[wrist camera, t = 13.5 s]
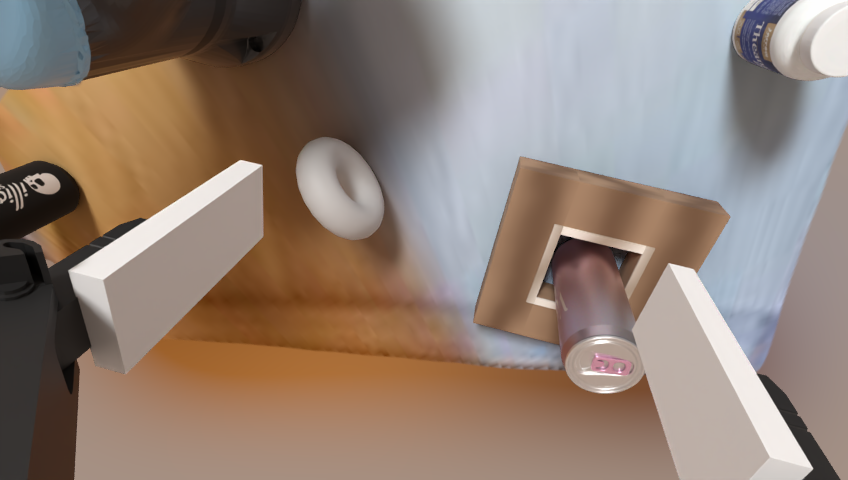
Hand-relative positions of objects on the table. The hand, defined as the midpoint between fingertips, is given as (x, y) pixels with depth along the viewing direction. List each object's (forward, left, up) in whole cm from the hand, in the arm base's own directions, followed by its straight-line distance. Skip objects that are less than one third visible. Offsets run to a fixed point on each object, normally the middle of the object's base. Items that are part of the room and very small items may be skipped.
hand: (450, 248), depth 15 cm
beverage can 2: (+13, -15, -29) cm, 35 cm away
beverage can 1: (-47, -22, -29) cm, 59 cm away
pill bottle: (+19, +8, -29) cm, 35 cm away
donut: (-11, -11, -29) cm, 33 cm away
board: (+13, -15, -29) cm, 35 cm away
